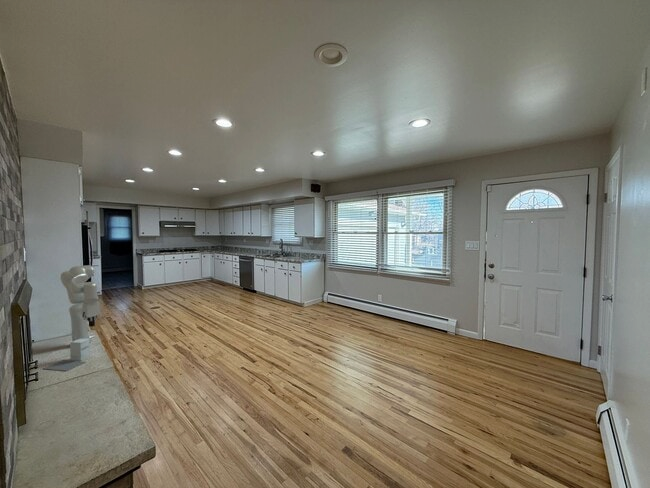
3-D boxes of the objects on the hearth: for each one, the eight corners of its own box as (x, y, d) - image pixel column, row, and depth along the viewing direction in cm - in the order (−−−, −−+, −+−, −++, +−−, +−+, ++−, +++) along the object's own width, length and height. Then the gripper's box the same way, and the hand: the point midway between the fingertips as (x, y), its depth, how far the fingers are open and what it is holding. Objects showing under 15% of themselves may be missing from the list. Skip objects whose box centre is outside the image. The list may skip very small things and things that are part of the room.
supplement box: (80, 361, 187) (80, 342, 186) (70, 360, 187) (69, 342, 186) (90, 356, 194) (89, 338, 194) (80, 356, 194) (79, 338, 194)
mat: (63, 360, 187) (63, 360, 187) (85, 362, 184) (85, 361, 184) (42, 369, 175) (42, 368, 175) (66, 371, 172) (66, 370, 172)
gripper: (96, 298, 205) (97, 322, 206) (75, 303, 191) (76, 329, 191) (105, 298, 204) (106, 323, 205) (84, 303, 189) (85, 329, 190)
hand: (91, 326), depth 198 cm, fingers closed
